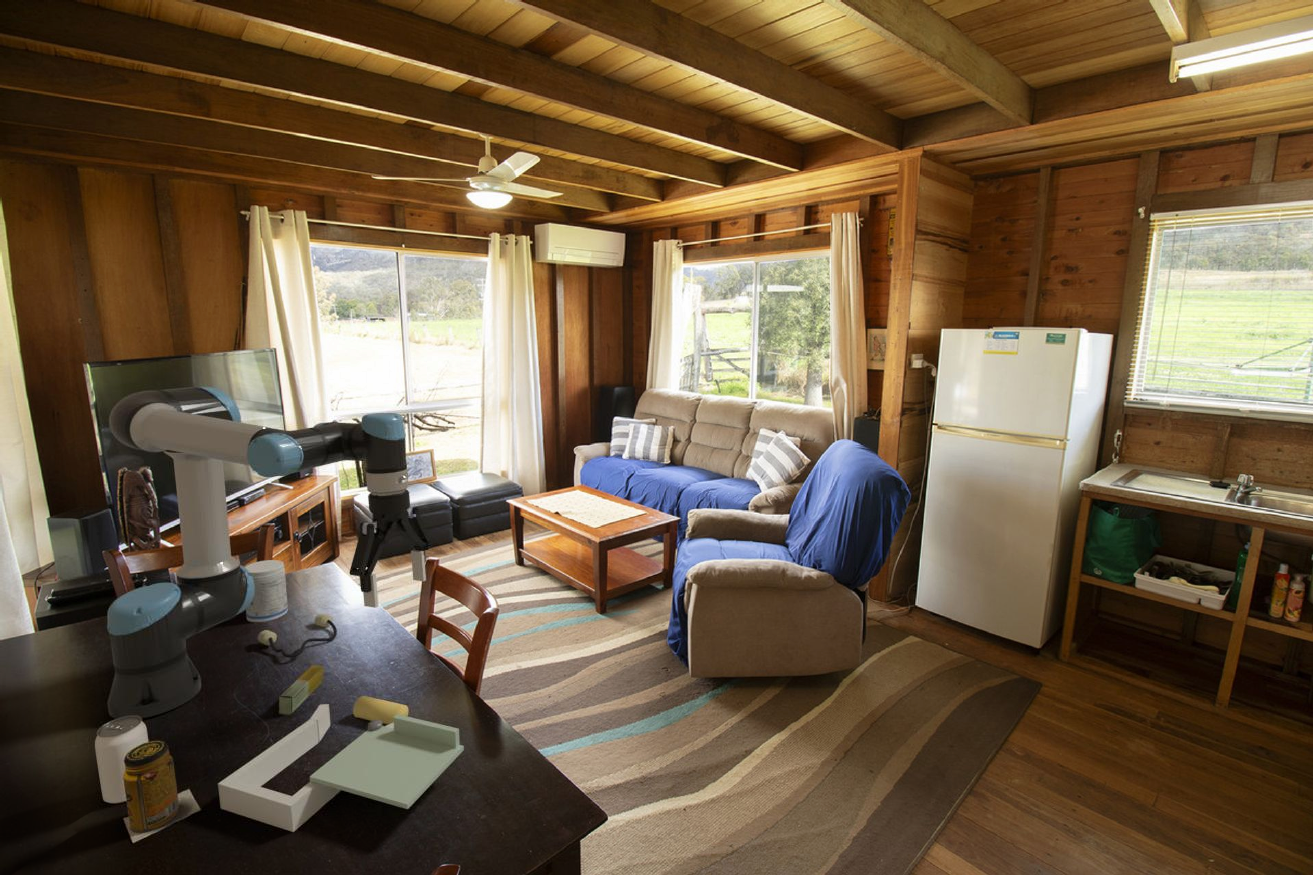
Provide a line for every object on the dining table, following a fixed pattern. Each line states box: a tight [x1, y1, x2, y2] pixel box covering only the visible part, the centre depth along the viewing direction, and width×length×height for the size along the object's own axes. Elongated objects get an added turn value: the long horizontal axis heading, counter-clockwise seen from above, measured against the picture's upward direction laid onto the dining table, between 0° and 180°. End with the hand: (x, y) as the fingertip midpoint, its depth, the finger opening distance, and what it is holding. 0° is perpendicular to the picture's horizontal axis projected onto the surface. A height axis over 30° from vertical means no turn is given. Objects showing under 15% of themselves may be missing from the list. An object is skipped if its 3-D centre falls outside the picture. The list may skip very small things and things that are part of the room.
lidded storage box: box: [217, 703, 394, 833], centre depth 106 cm, size 22×19×4 cm
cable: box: [257, 613, 338, 658], centre depth 150 cm, size 16×16×4 cm
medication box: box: [278, 664, 324, 716], centre depth 128 cm, size 12×3×4 cm, turn 0°
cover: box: [309, 714, 465, 810], centre depth 101 cm, size 15×20×4 cm
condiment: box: [123, 740, 202, 844], centre depth 95 cm, size 7×8×12 cm
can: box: [94, 715, 149, 804], centre depth 100 cm, size 6×6×12 cm
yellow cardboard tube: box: [352, 695, 409, 726], centre depth 121 cm, size 10×4×4 cm, turn 72°
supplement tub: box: [244, 559, 289, 623], centre depth 164 cm, size 10×10×15 cm
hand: (396, 592), depth 123 cm, fingers open, 13 cm apart
